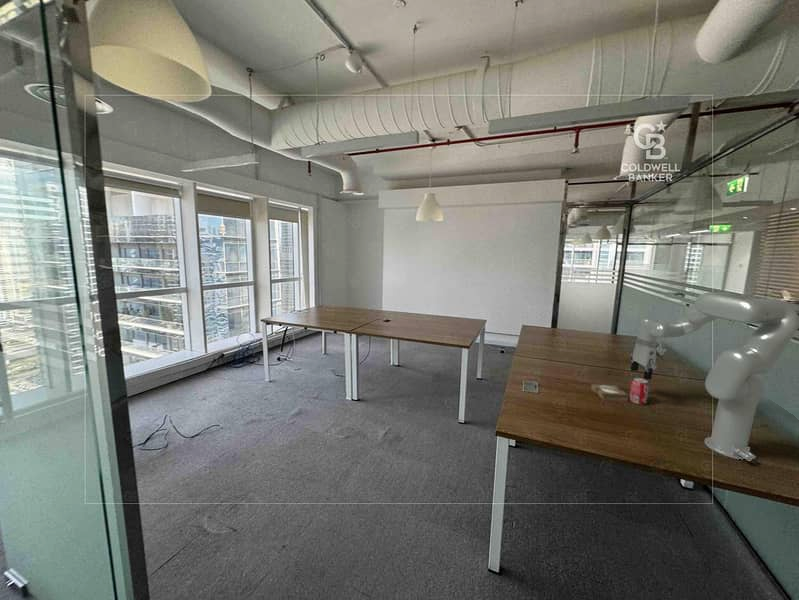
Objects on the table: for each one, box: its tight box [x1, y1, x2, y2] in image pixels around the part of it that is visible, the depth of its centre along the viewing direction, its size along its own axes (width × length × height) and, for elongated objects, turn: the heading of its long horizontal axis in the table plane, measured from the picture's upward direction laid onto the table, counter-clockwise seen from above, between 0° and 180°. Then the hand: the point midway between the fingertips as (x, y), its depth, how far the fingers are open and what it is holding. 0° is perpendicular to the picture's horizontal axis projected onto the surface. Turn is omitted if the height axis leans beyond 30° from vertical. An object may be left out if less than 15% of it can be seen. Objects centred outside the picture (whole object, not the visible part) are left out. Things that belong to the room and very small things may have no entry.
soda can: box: [628, 377, 650, 406], centre depth 153 cm, size 7×7×12 cm
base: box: [590, 383, 630, 402], centre depth 162 cm, size 12×12×3 cm
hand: (640, 374), depth 153 cm, fingers open, 9 cm apart
